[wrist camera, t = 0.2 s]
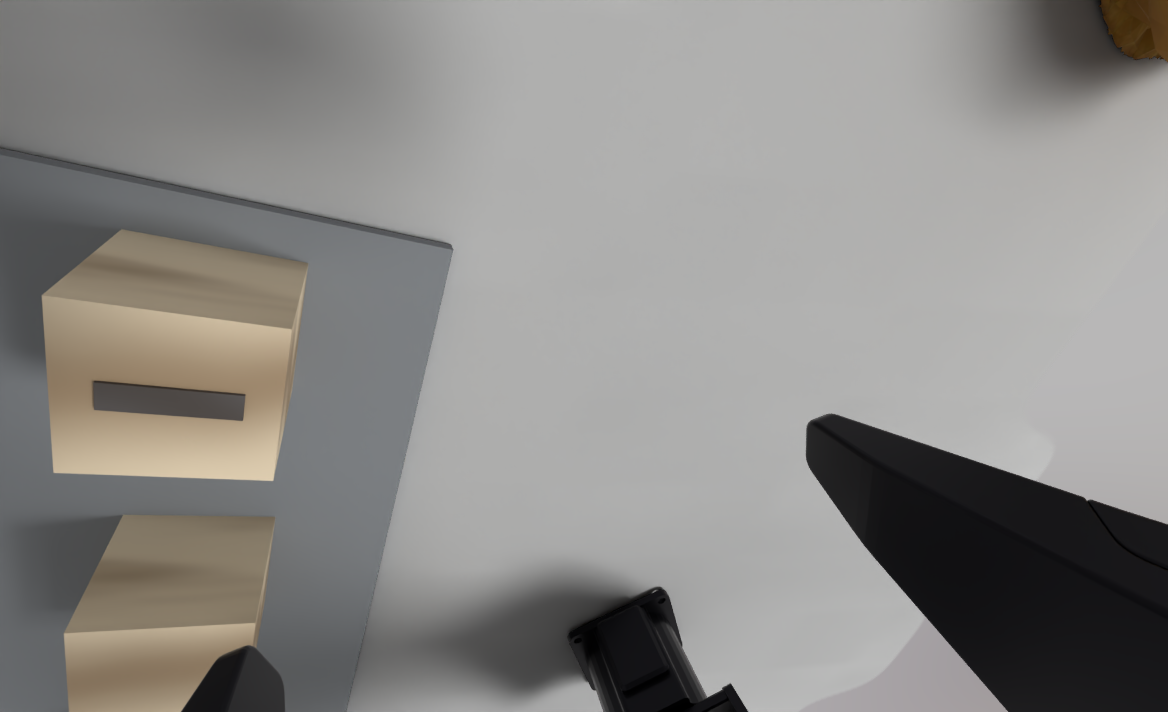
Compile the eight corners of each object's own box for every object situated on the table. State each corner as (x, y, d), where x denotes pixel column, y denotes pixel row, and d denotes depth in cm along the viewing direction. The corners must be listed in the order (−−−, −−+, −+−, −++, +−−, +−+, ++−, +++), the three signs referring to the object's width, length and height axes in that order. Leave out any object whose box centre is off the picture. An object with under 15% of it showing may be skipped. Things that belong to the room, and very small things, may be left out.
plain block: (264, 603, 25) (243, 716, 21) (123, 609, 23) (70, 736, 19) (275, 516, 23) (255, 623, 19) (123, 514, 21) (63, 633, 17)
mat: (336, 745, 32) (335, 756, 32) (9, 791, 26) (2, 806, 26) (450, 244, 21) (453, 249, 20) (-85, 130, 15) (-101, 133, 14)
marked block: (292, 391, 21) (272, 483, 17) (118, 374, 19) (46, 475, 15) (308, 263, 19) (291, 331, 15) (117, 228, 17) (33, 296, 13)
